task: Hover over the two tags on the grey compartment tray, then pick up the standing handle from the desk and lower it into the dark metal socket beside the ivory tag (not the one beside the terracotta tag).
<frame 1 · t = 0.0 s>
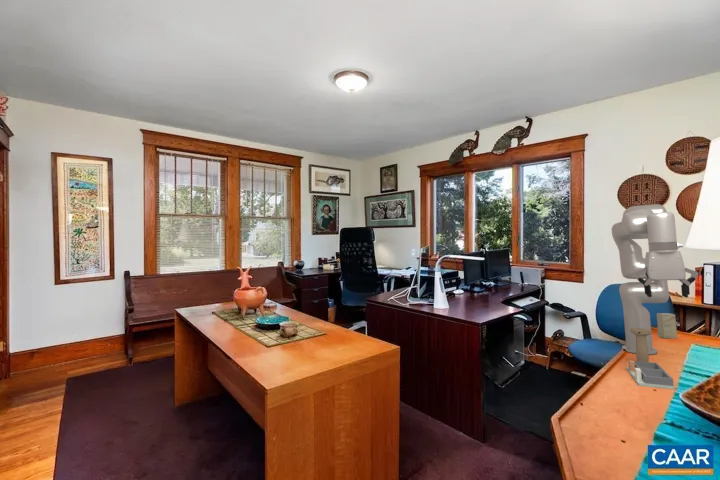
hand: (666, 296, 120), 31 cm above the table, tool pointing down, fingers open, 9 cm apart
handle: (643, 367, 139), on the table
grey compartment tray: (648, 378, 127), on the table
skincare box: (667, 337, 177), on the table
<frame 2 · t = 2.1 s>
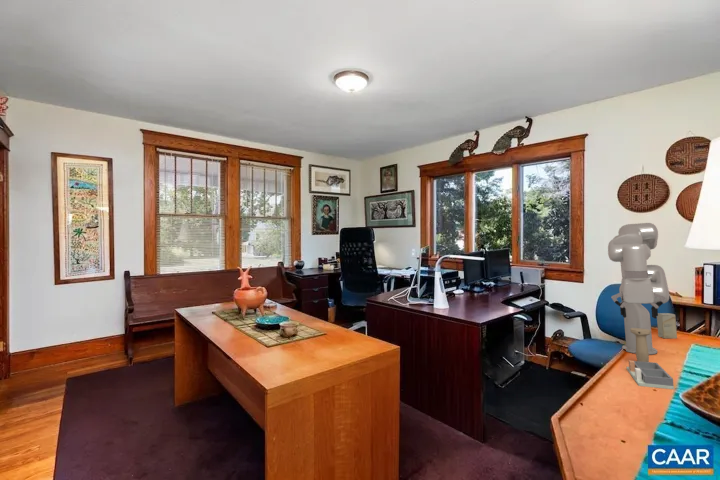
hand: (639, 317, 139), 20 cm above the table, tool pointing down, fingers open, 9 cm apart
nothing on the table moved.
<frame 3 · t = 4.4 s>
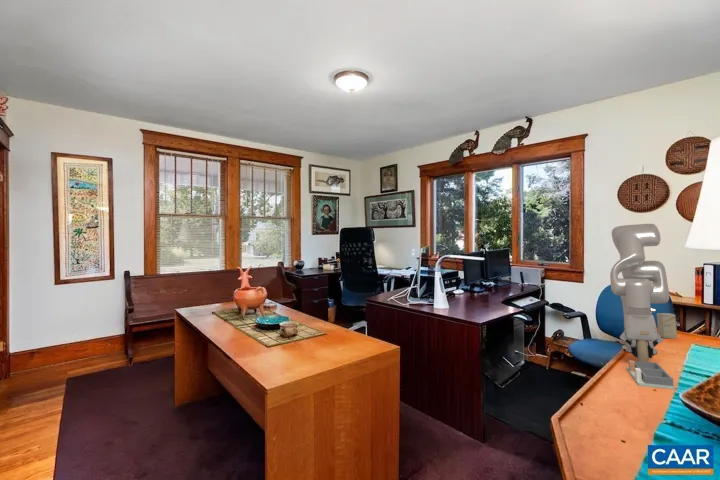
hand: (642, 356, 139), 4 cm above the table, tool pointing down, fingers closed on handle, 4 cm apart
handle: (643, 367, 139), on the table, touching gripper
everything else where it was.
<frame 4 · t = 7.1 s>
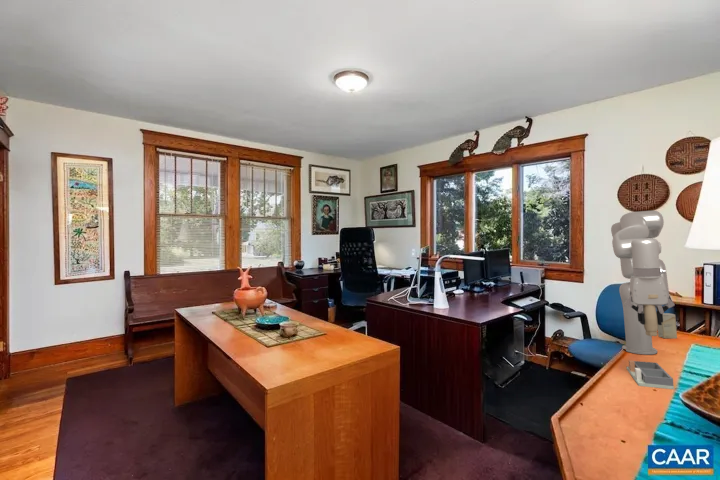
hand: (650, 323, 124), 21 cm above the table, tool pointing down, fingers closed on handle, 4 cm apart
handle: (651, 336, 123), point 17 cm above the table, touching gripper
everything else where it was.
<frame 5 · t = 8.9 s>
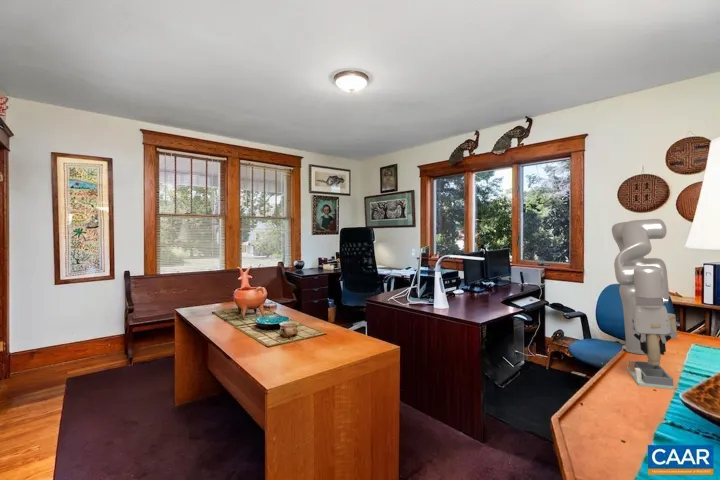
hand: (653, 352, 123), 11 cm above the table, tool pointing down, fingers closed on handle, 4 cm apart
handle: (654, 365, 123), point 6 cm above the table, touching gripper
everything else where it was.
when the fingers open (6 cm above the table, at t = 10.2 s): handle stays where it is, resting on grey compartment tray.
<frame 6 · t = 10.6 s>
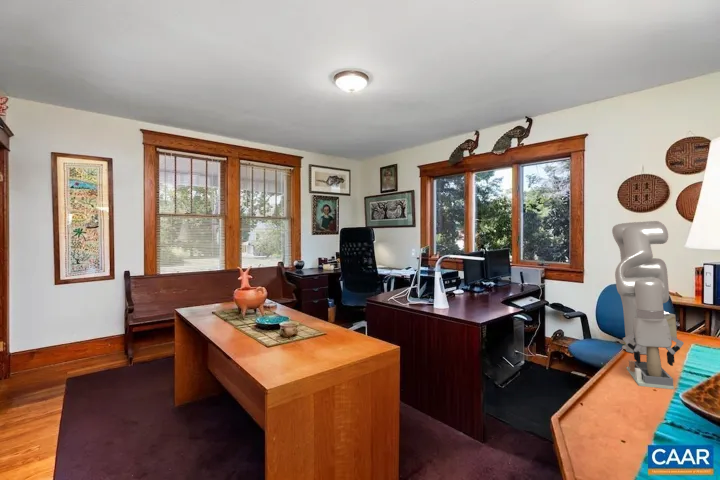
hand: (654, 363, 123), 7 cm above the table, tool pointing down, fingers open, 8 cm apart
handle: (655, 380, 123), point 1 cm above the table, touching grey compartment tray
everything else where it was.
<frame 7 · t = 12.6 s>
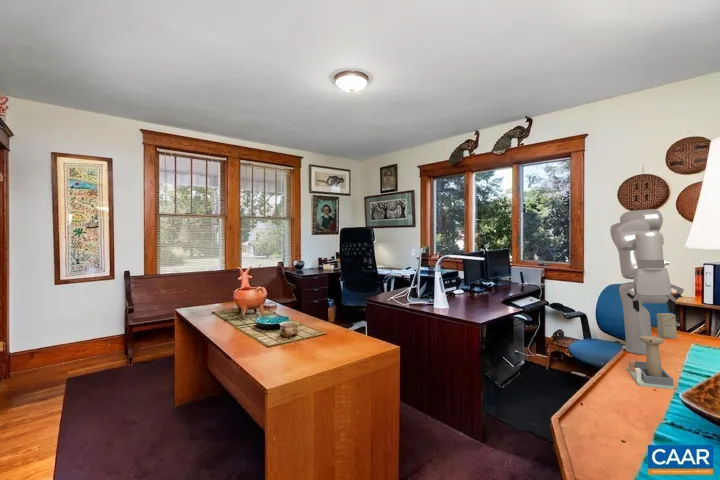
hand: (653, 311, 126), 25 cm above the table, tool pointing down, fingers open, 9 cm apart
nothing on the table moved.
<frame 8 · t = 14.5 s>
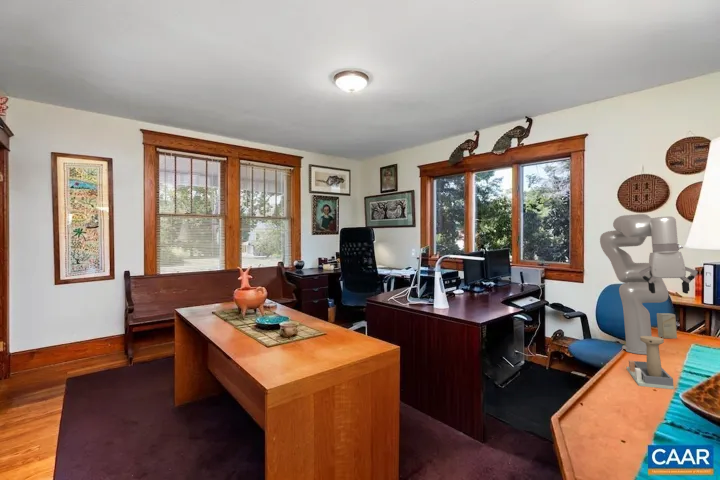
hand: (668, 293, 132), 30 cm above the table, tool pointing down, fingers open, 9 cm apart
nothing on the table moved.
at the end: handle 0.2 cm from the target spot on the grey compartment tray, point 0.8 cm above the grey compartment tray's base; handle tilted 0°; the gripper is holding nothing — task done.
